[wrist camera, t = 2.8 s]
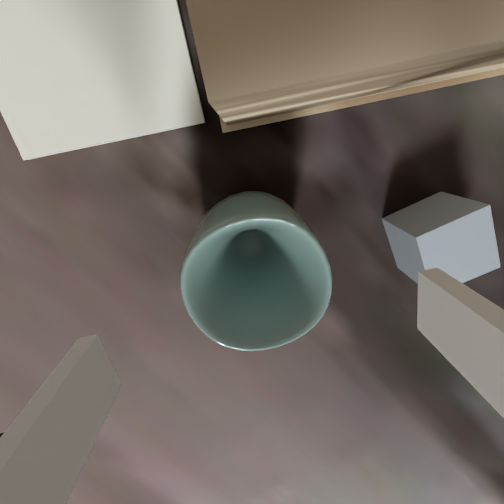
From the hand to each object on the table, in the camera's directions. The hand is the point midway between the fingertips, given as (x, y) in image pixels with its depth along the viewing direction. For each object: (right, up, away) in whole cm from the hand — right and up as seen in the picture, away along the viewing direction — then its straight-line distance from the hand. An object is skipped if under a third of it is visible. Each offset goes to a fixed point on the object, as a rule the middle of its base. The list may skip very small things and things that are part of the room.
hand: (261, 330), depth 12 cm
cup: (-1, +5, +12) cm, 13 cm away
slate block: (+14, +5, +13) cm, 19 cm away
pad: (-11, +17, +7) cm, 21 cm away
